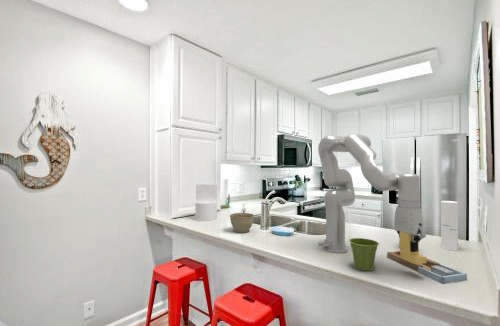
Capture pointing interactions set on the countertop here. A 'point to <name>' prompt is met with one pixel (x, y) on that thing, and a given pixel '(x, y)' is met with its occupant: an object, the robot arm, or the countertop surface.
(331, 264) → the countertop surface
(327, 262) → the countertop surface
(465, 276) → the tray
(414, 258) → the l-shaped block
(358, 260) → the plant pot
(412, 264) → the slot board
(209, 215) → the cylinder
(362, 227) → the countertop surface
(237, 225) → the planter bowl
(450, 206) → the cylindrical container
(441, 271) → the chip
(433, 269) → the pale grey block
